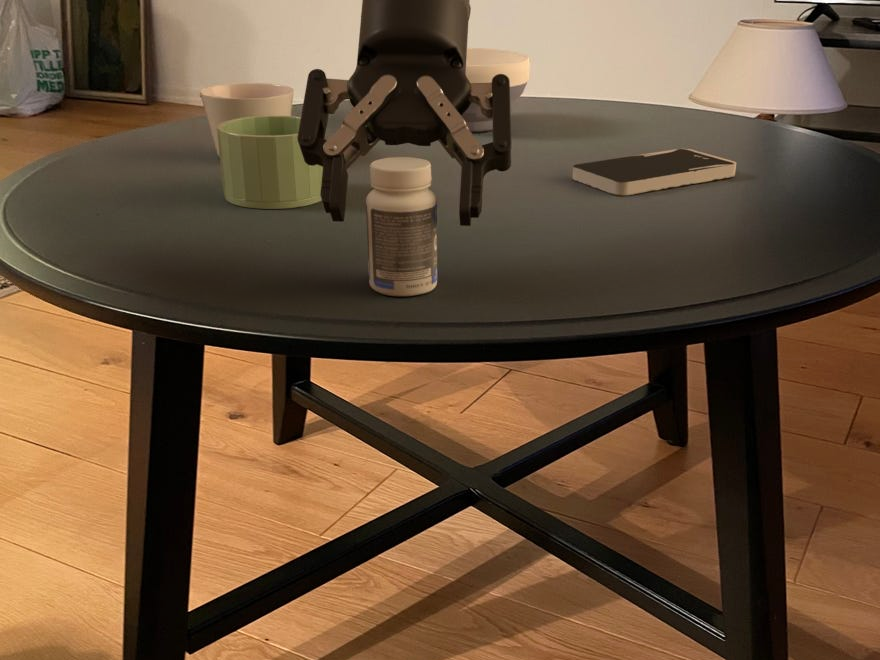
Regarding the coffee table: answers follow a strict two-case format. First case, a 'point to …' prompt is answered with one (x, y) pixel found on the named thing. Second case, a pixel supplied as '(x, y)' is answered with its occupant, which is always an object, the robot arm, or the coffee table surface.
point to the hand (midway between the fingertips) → (400, 218)
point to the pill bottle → (401, 227)
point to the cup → (266, 164)
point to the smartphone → (653, 171)
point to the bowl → (483, 69)
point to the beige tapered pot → (244, 102)
